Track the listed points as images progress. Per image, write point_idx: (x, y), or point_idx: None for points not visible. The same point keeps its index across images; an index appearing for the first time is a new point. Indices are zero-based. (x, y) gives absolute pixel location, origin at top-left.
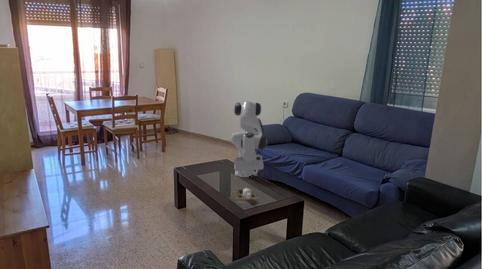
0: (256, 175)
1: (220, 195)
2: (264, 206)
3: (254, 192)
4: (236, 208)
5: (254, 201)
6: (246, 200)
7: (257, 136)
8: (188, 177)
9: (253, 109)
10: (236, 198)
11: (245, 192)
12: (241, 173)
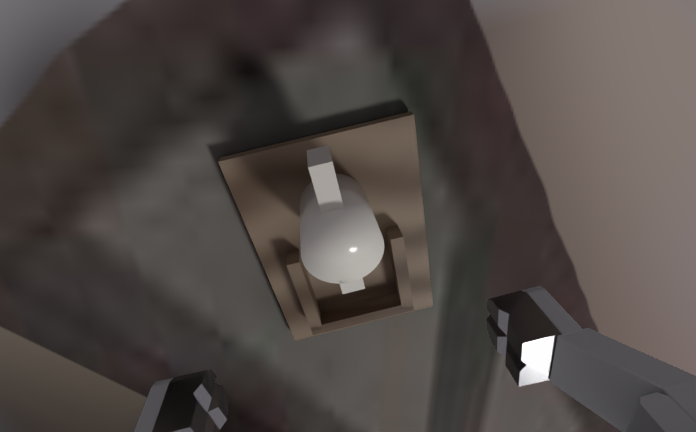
0: (161, 381)
1: (513, 254)
2: (161, 94)
3: (282, 310)
4: (422, 33)
5: (265, 163)
6: (336, 174)
7: None
8: None
9: None
10: (416, 204)
11: (356, 210)
12: (598, 349)
